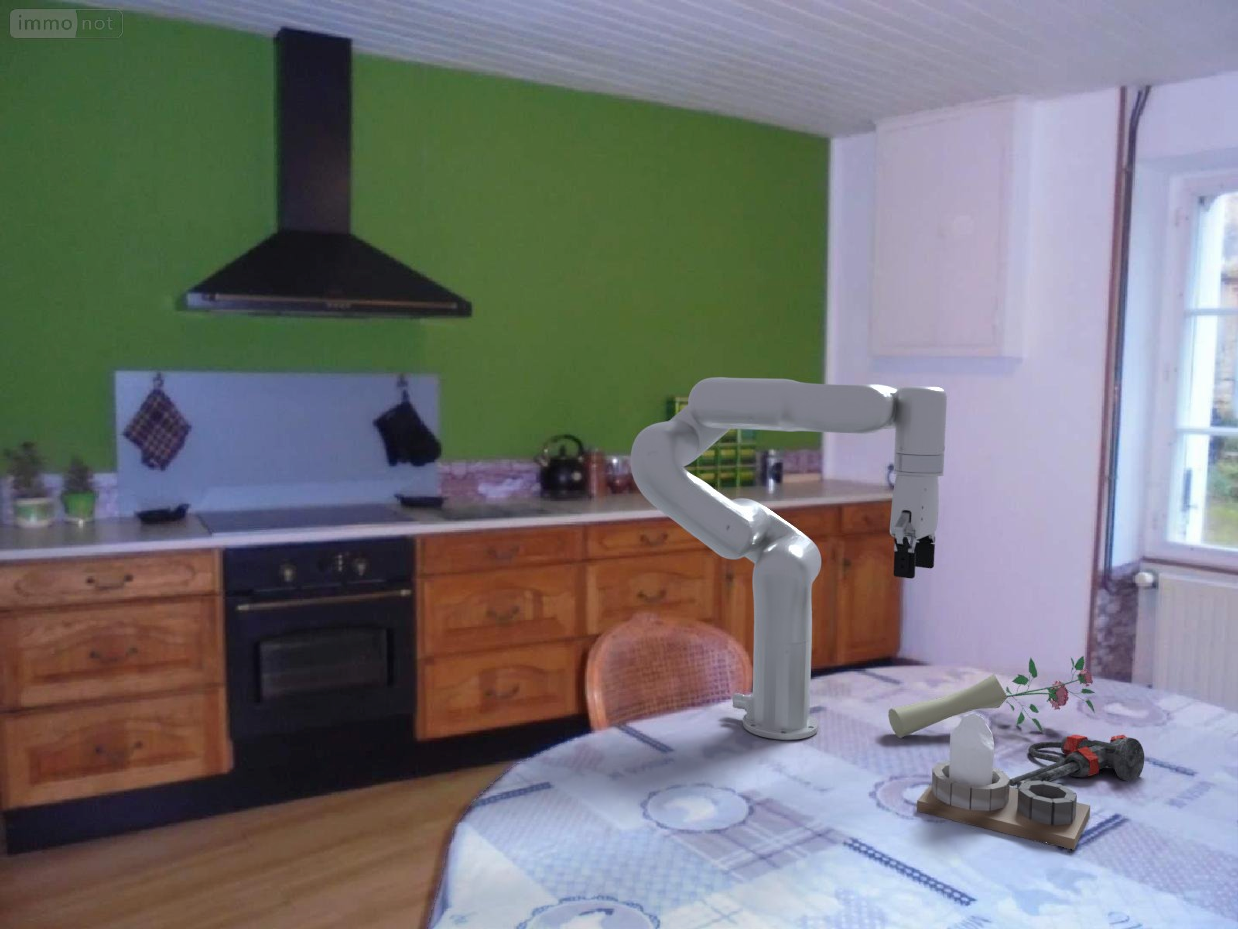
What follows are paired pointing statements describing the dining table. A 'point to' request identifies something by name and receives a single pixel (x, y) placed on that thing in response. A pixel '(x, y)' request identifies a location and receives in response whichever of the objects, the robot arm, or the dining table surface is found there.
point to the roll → (971, 751)
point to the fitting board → (1008, 807)
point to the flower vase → (981, 701)
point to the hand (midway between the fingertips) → (914, 572)
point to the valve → (1087, 758)
